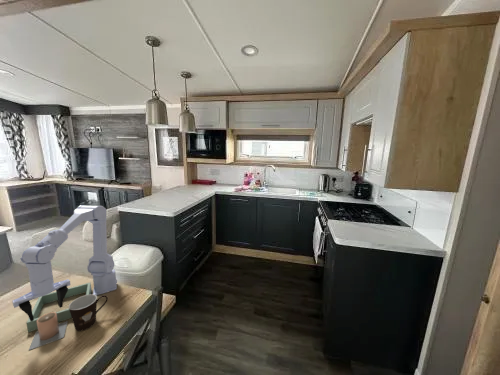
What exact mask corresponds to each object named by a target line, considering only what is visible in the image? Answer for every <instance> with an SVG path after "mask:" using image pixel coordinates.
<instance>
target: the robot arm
mask: <svg viewBox="0 0 500 375" xmlns="http://www.w3.org/2000/svg"><path fill="white" fill-rule="evenodd" d="M87 221H88V223H91V224H92V246H93V247H92V250H93V255H92V256H91V257H90V258H89V259H88V265H87V268H86V269H87V272H88V273H90V274H91V275H90V276H92V280H93V292H92V294H93V295H96V296H99V295H102V294H105V293H109V292H112V291H115V290H117V284H118V280H117V276H116V269H114V268H115V261H114V257H113V256H112V255H111V254H109V253H108V237H107V236H108V235H107V233H108V232H107V231H108V230H107V208H106V207H105V206H103V205H85V204H80V205H79V206H77V207H76V208H75V209H74V210H73V214H72V215H71V216H70V217H68V219H66V221H65V222H64V224H62V225H61V226H60V227H59V228H58V229H53V230H50V231H48V234H46V236H44V237H43V238H42V239H41V240H40V241H38V242H37V243H36V244H35V245H33V246H29V247H28V248H26V249H25V250H23V253H22V254H21V257H20V259H19V260H20V262H21V263H23V264H25V268H27V271H28V278H29V285H30V292H27V293H26V294H24V295H21V296H20V297H18V298H15V299H12V307H13V308H14V309H15V308H18V307H19V309H20V310H21V311H22V312H24V313H25V314H26V315H27V316H28V319H30V321H33V320H34V317H33V314H32V310H33V308H32V307H33V306H32V304H31V301H32V300H35V299H38V298H39V297H41V296H44V295H47V294H49V293H52V292H57V297H58V300H57V305H58V307H59V308H60V309H61V308H62V307H63V305H64V300H65V299H66V298H65V295H66V293H67V291H68V288H69V286H70V287H71V281H70V279H68V278H67V279H65V280H60V281H58V282H54V275H53V270H52V268H53V267H52V261H51V260H53V258H54V257H55V254H56V252H57V251H58V248H60V247H61V245H63V244H64V243H65V242H66V241H67V240H68V238H69V233H71V232H72V231H73V230H74V229H77V227H78V226H79V225H81V224H82V223H83V222H87Z"/></svg>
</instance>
